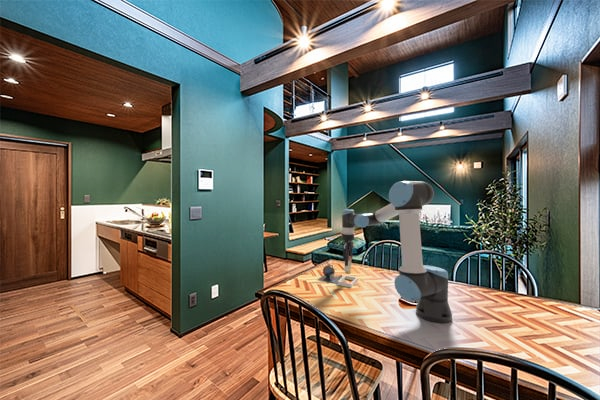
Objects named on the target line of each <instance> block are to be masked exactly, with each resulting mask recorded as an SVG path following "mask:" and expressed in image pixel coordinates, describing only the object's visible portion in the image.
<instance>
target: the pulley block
mask: <svg viewBox="0 0 600 400" xmlns="http://www.w3.org/2000/svg"><path fill="white" fill-rule="evenodd" d="M333 266H334V265H333V264H327V265H326V266H324V267H323V269H322V273H323V275H322V276H321V277H319V278H317V281H321V282H325V283H330V284H334V285H338V281H339V280H340V279H341V278H342V277H343V274H339V276H335V274H336V271H335V268H334V267H333Z"/></svg>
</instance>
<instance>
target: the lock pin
mask: <svg viewBox="0 0 600 400" xmlns="http://www.w3.org/2000/svg"><path fill="white" fill-rule="evenodd" d="M348 261H349V271H346V270H345V269H344V272H345V274H346V275H350V274H351V270H352V259H351V256H349V260H348Z"/></svg>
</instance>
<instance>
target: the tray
mask: <svg viewBox="0 0 600 400" xmlns="http://www.w3.org/2000/svg"><path fill="white" fill-rule="evenodd" d="M346 280H351V282H346ZM358 282H359V277H357V276H352V275H348V274H346V275H344V276H343V275H342V278H341V279H340V280H339V281H338V283H337V285H338V286H343V287H346V288H347V287H348V288H353V287H354V286H355V285H356V284H357V283H358Z"/></svg>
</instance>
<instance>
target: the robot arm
mask: <svg viewBox="0 0 600 400" xmlns="http://www.w3.org/2000/svg"><path fill="white" fill-rule="evenodd" d="M434 196H435V191H434V188H433V186H432V185H431V184H430V183H428V182H425V181H422V180H421V181H420V180H419V181H418V180H417V181H416V180H414V181H413V180H403V181H397V182H395V183H393V185H392V186H391V188H390V189H389V192H388V200H389V203H388V204H387V205H386V206H384V207H382V208H380V209H377V210H376V211H375V212H372V213H355V210H354V209H343V210H342V211H341V212H342V213H341V214H342V215H341V222H342V224H341V233H342V234H341V236H342V237H341V239H342V240H343V241H344V242H343V244H344V245H343V244H342V256H343V257H342V258H343V259H342V260H343V261H344V271H345V270H346V271H349V261H348V260H349V256H351V260H353V253H354V252H353V251H354V250H353V249H354V242H353V241H354V240H355V234H354V233H355V231H356V230H355V227H358V228H366V227H367V226H368V227H369V226H380V225H383V224H384V223H385V222H386V221H389V220H390V219H392V218H394V217H398V222H399V223H398V224H399V234H400V235H399V238H400V251H401V252H400V253H401V266H400V267H399V268H398V272H399V274H398V275H397V276H396V277H395V279H394V289H395V290H396V293H397V294H398V295H399V296H400V297H401V298H402V299H403V300H405V301H407V302H417V304H416V306H415V311H416V312H415V313H416V314H417V315H418V316H419V317H421V318H422V319H424V320H427V321H429V322H432V323H437V324H446V323H450V322H451V321H452V319H453V313H452V310H451V307H450V303H449V301H448V300H449V299H448V298H449V279H450V278H449V273H448V271H447V270H446V269H444V268H441V267H437V266H433V265H428V264H426V265H425V264H424V263H423V251H422V250H423V249H422V236H421V235H422V234H421V224H420V213H421V211H423V207H424V206H427V205H428V204H430V203H431V202H432V201H433V199H434Z"/></svg>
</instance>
